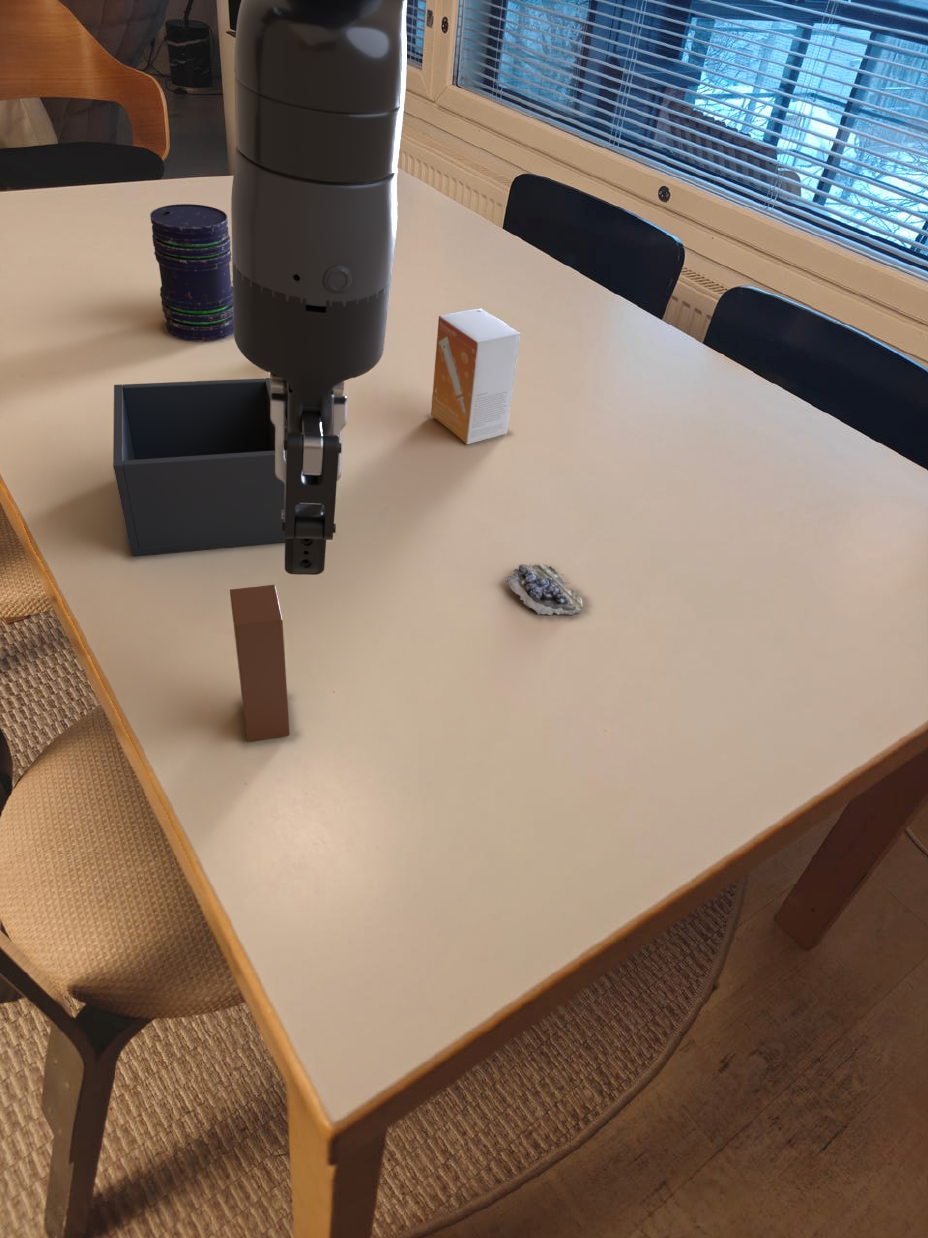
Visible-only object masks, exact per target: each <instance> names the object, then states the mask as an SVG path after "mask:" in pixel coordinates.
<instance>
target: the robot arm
mask: <svg viewBox="0 0 928 1238" xmlns="http://www.w3.org/2000/svg"><path fill="white" fill-rule="evenodd" d="M407 4H408V0H241V1H240V4H239V9H238V14H237V20H236V28H235V29H236V30H235V42H234V70H233V71H234V116H235V123H234V124H235V145H236V146H235V159H234V170H233V178H232V184H231V185H232V186H231V197H230V198H231V199H230V218H231V219H230V220H231V222H230V223H231V269H232V287H233V315H234V333H233V336H234V342H235V344H236V346H237V349H238V350H239V352H240V353H241V354H242V355H243V356H244V357H245V359H247V360H248V361H249V362H250V363H251V364H253V365H254V366H256V367H258V368H259V369H261V370H262V371H264V372H267V373H269V378H270V420H271V423H272V424H273V426H274V427H275V475H276V477H277V478H278V479H279V480H281V481H282V482H283V483H284V510H283V509H281V519H284V522H282V532H285V542H284V571H285V572H286V573H287V574H289V575H300V576H301V575H304V576H305V575H307V576H317V575H320V574H322V573H323V572H324V571H325V563H326V550H327V549H326V548H327V540H328V541H333V539H334V534H336V531H337V524H336V523H335V515H336V514H335V512H336V500H337V498H336V497H337V486H338V481H339V480H340V479H341V477H342V449H343V448H342V447H343V446H342V445H343V443H342V442H343V429H344V428H345V427H346V426H347V423H348V422H347V421H348V397H347V396H348V395H344V392H345V391H344V390H345V382H346V381H349V380H350V379H355V378H358V377H361V376H363V375H365V374H367V373H368V372H369V371H371V370H372V369H373V368H375V367H376V366H377V365H378V363H379V362H380V360H381V359H382V357H383V354H384V349H385V342H386V341H385V340H386V331H387V322H388V314H389V304H390V295H391V286H392V276H393V268H394V259H395V258H394V257H395V248H396V240H397V230H398V229H397V227H398V167H399V160H400V159H399V158H400V149H401V140H402V130H403V122H404V121H403V120H404V112H405V101H406V87H407V65H408V64H407V63H408V62H407V61H408V60H407V58H408V57H407V53H408V51H407V50H408V49H407V48H408V47H407V45H408V43H407V7H408V6H407ZM285 426H286V427H285Z"/></svg>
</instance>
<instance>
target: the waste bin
mask: <svg viewBox="0 0 928 1238" xmlns="http://www.w3.org/2000/svg"><path fill="white" fill-rule="evenodd" d="M285 427H286V426H285ZM112 439H113V444H112V445H113V447H112V448H113V449H112V451H113V452H112V455H113V457H112V458H113V459H112V466H113V472H114V477H115V482H116V487H117V492H118V497H119V501H120V507H121V512H122V517H123V521H124V526H125V532H126V537H127V541H128V546H129V551H130V556H131V557H132V558H133V557H144V556H155V555H164V554H165V555H166V554H175V553H188V552H197V551H198V552H199V551H207V550H218V549H227V548H239V547H250V546H258V545H259V546H260V545H261V546H262V545H271V544H282V543H285V532H282V522H284V519H281V509H283V510H284V483H283V482H282V481H281V480H279V479H278V478H277V477H276V475H275V427H274V426H273V424H272V423H271V420H270V377H265V378H263V377H262V378H261V377H260V378H241V379H215V380H194V381H193V380H191V381H170V382H169V381H167V382H150V383H149V382H148V383H124V384H114V385H113V438H112Z"/></svg>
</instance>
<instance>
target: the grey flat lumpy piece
mask: <svg viewBox="0 0 928 1238" xmlns="http://www.w3.org/2000/svg"><path fill="white" fill-rule="evenodd" d="M504 578H505V579H506V580H504V582H505V583H508V587H510V589H511V591H512V592H514V594H515V595H519V597H520V598H519V600H521V601H523V604H524V605H525V606H526V607H527V608H530V609H532V610H533V611H535V612H536V614H538V615H539V616H540V615H548V616H553V614H557V615H558V616H559V615H569V616H572V615H573V616H574V615H578V614H579V613H581V612H582V608H584V604H583V599H582V597H579V595H578V594H576V592H575V590H573V589H572V590H571V589H569V588H567V587H566V586H565V585H570V584H571V583H570V582H566V581H565V580H563V578H564V574H563V573H562V574H559V572H557V571H556V568H554V567H552V566H548V565H547V564H546V565H545V564H542V563H540V564H534V565H531V564H529V565H528V564H525V563H520V564H519V565H518V568H514V570H513V575H509V576H507V577H505V576H504Z"/></svg>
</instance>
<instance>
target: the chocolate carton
mask: <svg viewBox="0 0 928 1238" xmlns="http://www.w3.org/2000/svg"><path fill="white" fill-rule="evenodd" d="M229 596H230V606H231V614H232V624H233V631H234V641H235V642H234V643H235V651H236V659H237V668H238V678H239V686H240V695H241V696H240V697H241V703H242V710H243V719H244V725H245V732H246V740H247V742H248V743H250V742H256V741H257V742H258V741H263V740H270V739H276V738H282V737H289V736H290V735H291V734H290V717H289V701H288V685H287V684H288V683H287V670H286V669H287V668H286V654H285V638H284V637H285V636H284V620H283V615H282V609H281V606H280V602H279V596H278V591H277V586H276V585H275V584H268V585H258V586H249V587H240V588H239V587H238V588H232V589H229Z"/></svg>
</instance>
